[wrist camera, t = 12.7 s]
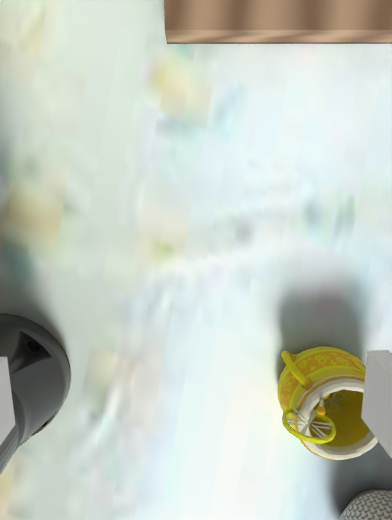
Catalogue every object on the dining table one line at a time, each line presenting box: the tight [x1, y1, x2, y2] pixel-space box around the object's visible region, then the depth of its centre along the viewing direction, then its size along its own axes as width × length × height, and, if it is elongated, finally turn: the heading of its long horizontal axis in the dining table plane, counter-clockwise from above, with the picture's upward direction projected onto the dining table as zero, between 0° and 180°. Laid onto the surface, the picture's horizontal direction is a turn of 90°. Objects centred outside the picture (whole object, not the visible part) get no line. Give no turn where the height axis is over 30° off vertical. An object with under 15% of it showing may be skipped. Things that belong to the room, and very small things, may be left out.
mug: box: [278, 346, 379, 460], centre depth 39 cm, size 13×11×12 cm
